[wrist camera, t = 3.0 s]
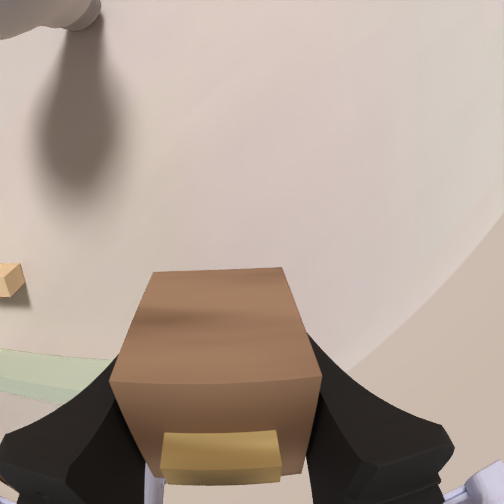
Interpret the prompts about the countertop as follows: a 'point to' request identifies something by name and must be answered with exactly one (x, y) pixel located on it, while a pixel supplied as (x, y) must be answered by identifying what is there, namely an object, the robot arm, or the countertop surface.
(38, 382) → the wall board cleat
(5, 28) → the lightbulb
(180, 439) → the cabinet block
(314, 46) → the countertop surface
